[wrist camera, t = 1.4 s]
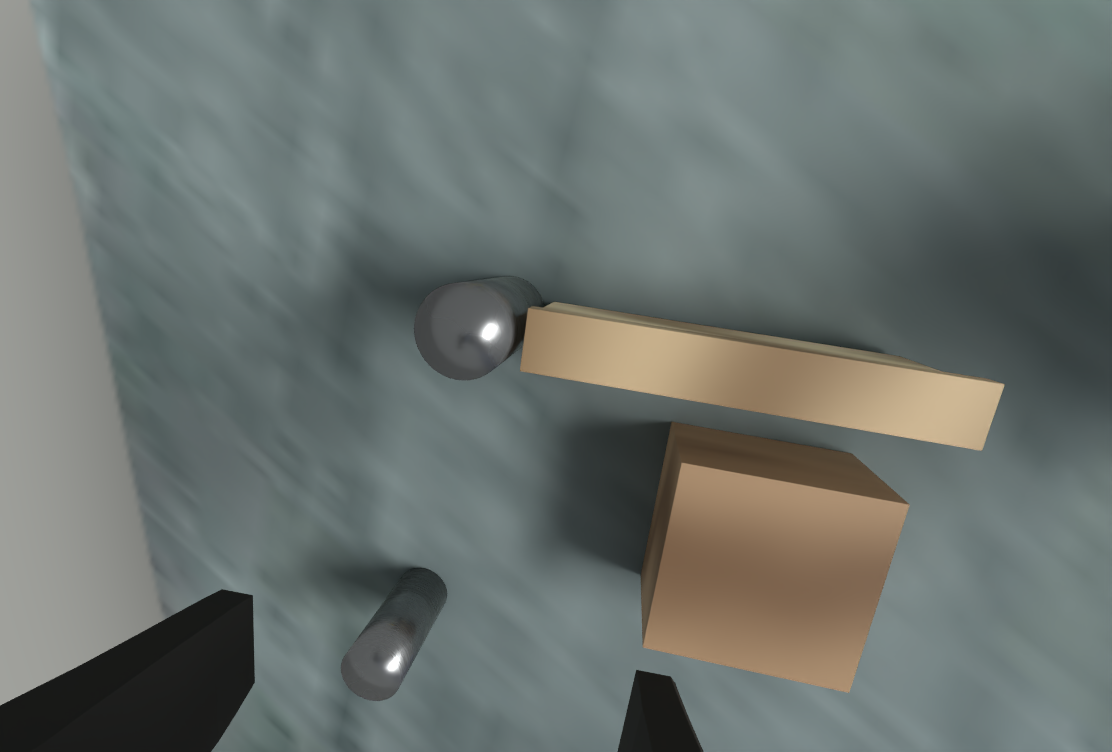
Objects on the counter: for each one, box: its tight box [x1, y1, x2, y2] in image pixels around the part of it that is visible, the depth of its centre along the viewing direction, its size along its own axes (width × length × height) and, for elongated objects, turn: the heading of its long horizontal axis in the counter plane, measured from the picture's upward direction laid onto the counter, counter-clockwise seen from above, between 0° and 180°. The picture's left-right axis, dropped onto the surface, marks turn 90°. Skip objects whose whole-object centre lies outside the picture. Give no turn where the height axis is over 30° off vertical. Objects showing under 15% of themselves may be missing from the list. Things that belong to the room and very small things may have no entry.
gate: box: [520, 302, 1005, 451], centre depth 15 cm, size 11×2×5 cm, turn 82°
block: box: [641, 422, 909, 693], centre depth 17 cm, size 6×6×4 cm
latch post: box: [341, 568, 447, 701], centre depth 19 cm, size 2×2×4 cm
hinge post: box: [414, 276, 544, 380], centre depth 16 cm, size 2×2×6 cm
